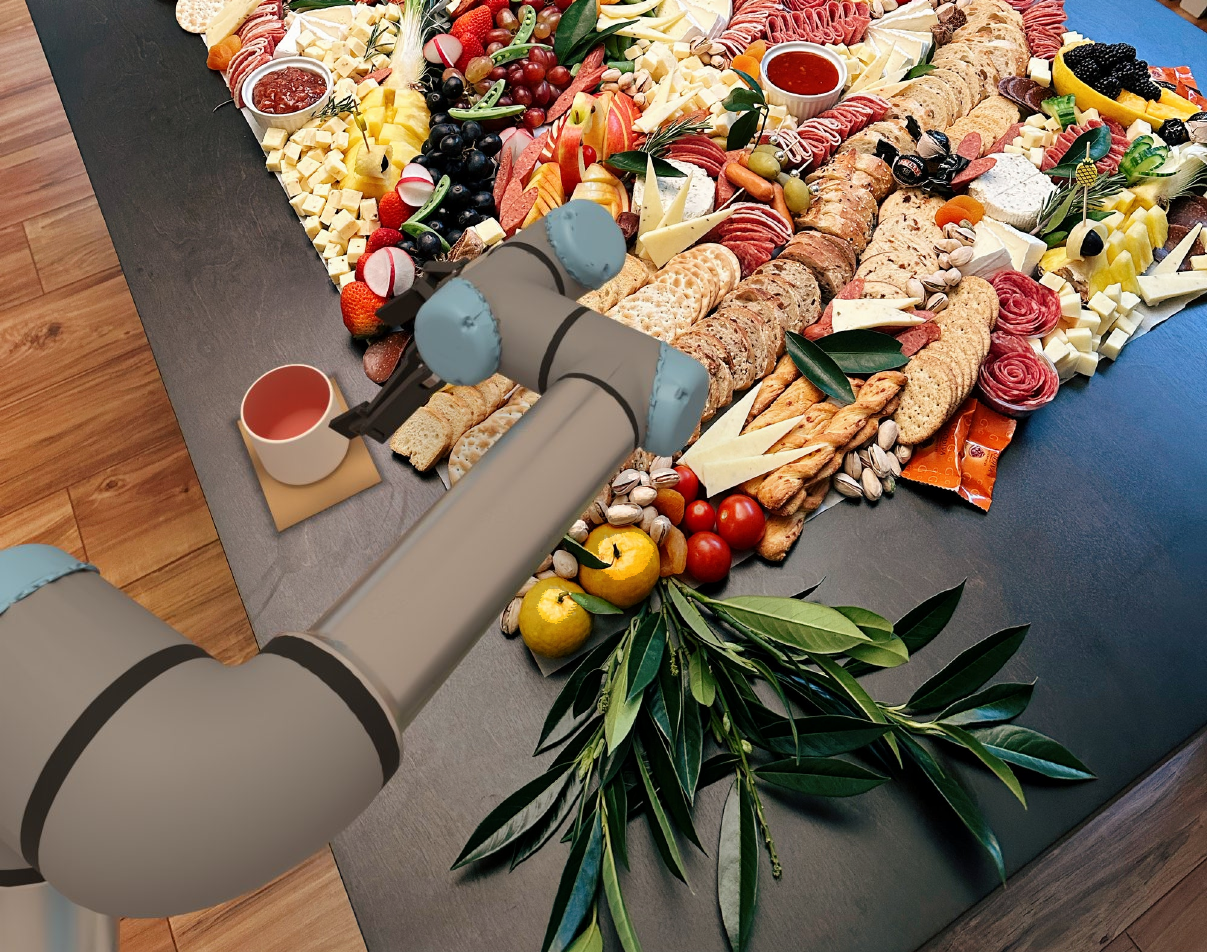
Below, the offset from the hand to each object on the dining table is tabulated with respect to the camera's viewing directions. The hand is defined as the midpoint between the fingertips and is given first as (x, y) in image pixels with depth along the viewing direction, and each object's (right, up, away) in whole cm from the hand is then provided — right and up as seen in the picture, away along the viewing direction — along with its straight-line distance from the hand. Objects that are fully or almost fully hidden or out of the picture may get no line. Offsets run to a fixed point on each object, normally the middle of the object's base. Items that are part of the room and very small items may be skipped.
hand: (363, 372), depth 117 cm
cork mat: (-10, -12, +15) cm, 21 cm away
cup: (-9, -12, +15) cm, 21 cm away
